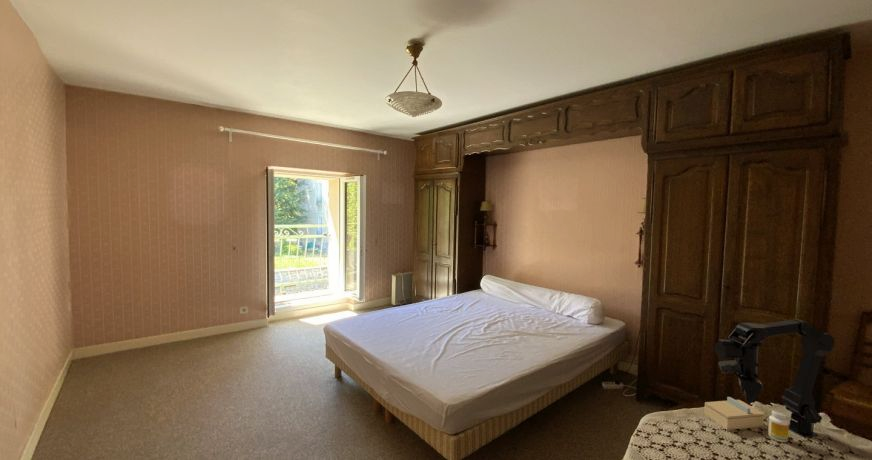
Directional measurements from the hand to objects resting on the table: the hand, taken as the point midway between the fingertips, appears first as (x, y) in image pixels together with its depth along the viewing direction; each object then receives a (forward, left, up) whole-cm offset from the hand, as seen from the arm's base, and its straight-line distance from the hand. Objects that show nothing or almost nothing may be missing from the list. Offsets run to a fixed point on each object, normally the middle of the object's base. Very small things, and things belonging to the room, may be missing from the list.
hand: (745, 397), depth 137 cm
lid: (-1, -5, -8) cm, 10 cm away
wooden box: (-1, -5, -13) cm, 14 cm away
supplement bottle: (-8, +6, -13) cm, 16 cm away
